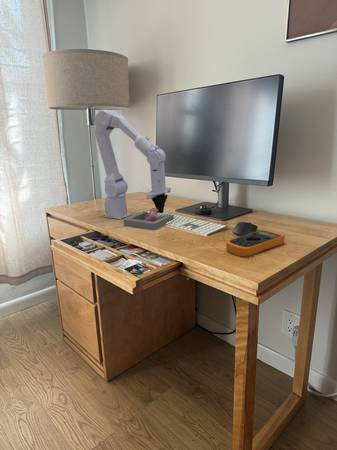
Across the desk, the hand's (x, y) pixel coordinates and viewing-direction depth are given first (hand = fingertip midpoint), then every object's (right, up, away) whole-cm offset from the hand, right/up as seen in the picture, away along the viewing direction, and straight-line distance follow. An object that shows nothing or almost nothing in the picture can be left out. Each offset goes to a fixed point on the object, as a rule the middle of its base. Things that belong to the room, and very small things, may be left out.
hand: (160, 212), depth 130 cm
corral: (-4, -4, -6) cm, 8 cm away
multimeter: (+29, -12, -36) cm, 48 cm away
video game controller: (-3, -4, -4) cm, 7 cm away
